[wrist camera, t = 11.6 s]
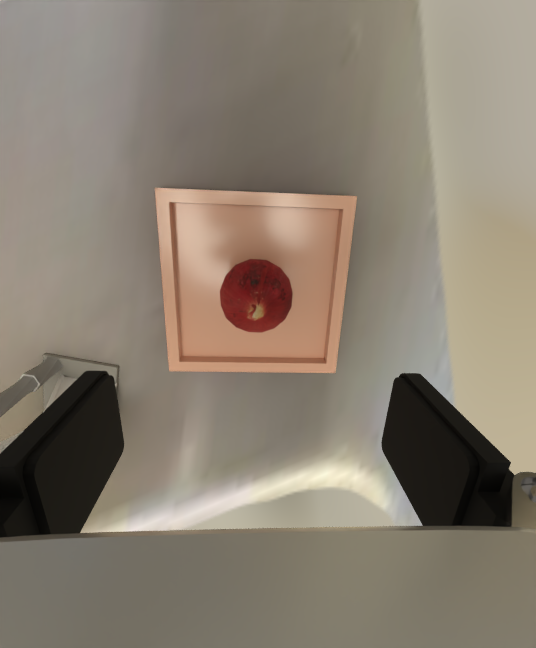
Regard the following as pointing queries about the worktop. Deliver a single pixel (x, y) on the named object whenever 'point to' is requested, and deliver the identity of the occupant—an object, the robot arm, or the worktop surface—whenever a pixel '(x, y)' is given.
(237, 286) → the red round fruit
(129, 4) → the worktop surface
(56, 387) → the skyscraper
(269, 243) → the dish
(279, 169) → the worktop surface
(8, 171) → the worktop surface
